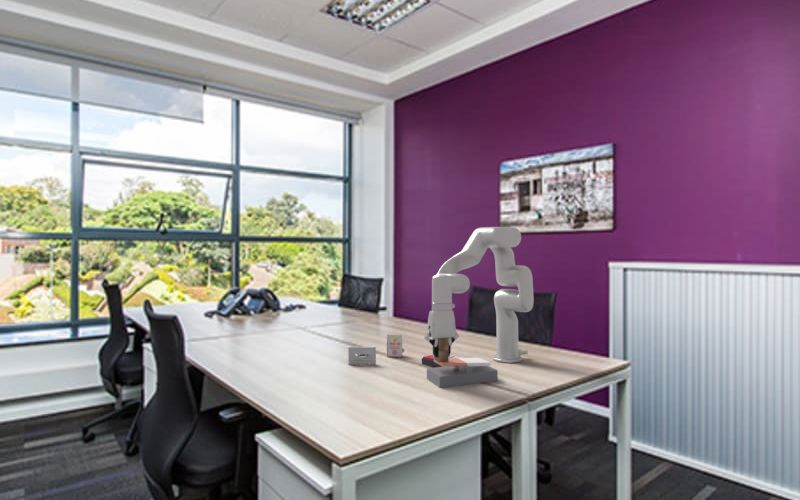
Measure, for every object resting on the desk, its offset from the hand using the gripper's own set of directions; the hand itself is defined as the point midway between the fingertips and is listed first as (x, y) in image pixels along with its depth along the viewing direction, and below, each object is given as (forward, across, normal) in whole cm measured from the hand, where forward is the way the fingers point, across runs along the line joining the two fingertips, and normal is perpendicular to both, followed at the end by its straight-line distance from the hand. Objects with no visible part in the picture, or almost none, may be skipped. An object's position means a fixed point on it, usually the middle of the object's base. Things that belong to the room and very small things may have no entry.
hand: (441, 355), depth 170 cm
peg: (+2, 0, 0) cm, 2 cm away
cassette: (+10, +21, -36) cm, 43 cm away
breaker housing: (+10, -9, 0) cm, 13 cm away
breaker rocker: (+4, -8, 0) cm, 9 cm away
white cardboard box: (+10, +3, -45) cm, 47 cm away
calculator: (+10, -11, -22) cm, 27 cm away
